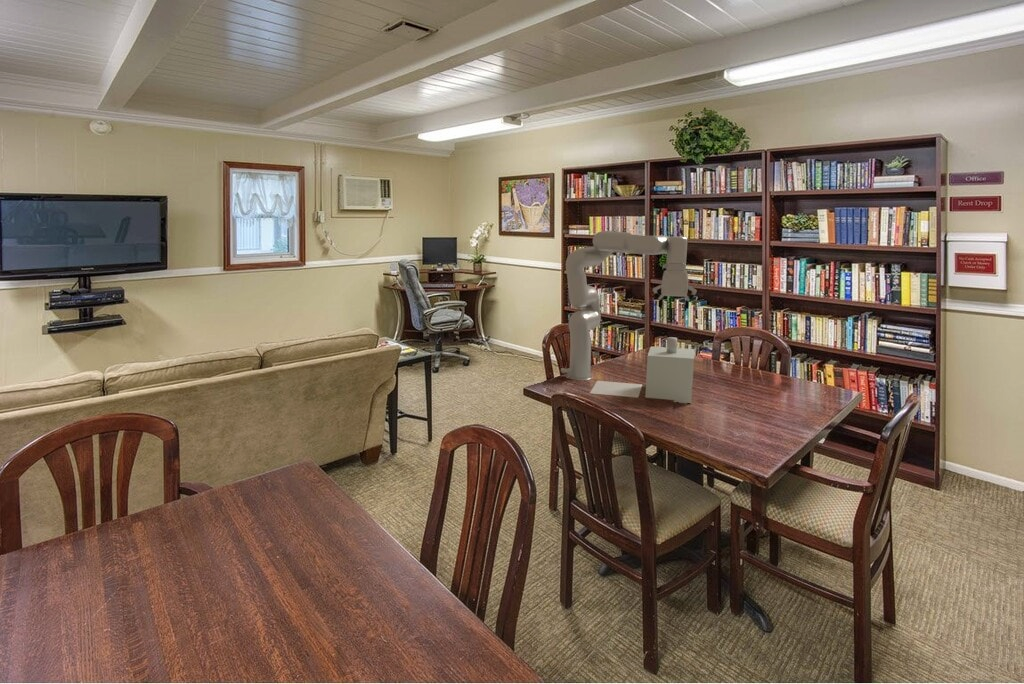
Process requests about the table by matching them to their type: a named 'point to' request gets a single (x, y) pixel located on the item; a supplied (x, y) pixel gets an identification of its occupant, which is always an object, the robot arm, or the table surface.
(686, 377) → the cover
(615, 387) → the mat
